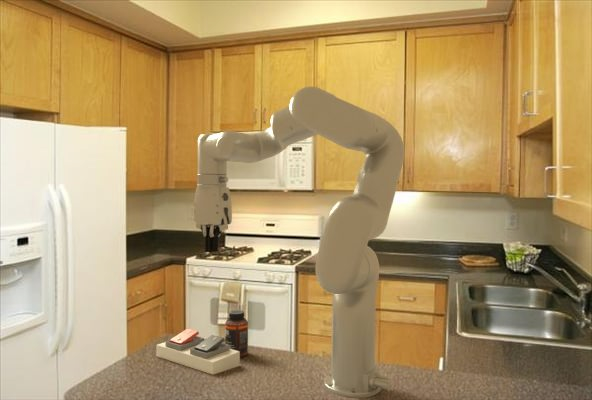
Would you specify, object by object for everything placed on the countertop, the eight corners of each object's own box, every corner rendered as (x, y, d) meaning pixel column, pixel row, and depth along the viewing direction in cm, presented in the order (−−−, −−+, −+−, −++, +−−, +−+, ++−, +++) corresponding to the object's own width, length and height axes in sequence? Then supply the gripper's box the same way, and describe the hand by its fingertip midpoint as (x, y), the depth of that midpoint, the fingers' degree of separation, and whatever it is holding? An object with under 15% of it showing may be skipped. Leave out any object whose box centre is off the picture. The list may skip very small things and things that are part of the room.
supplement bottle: (251, 351, 123) (251, 309, 123) (242, 359, 118) (243, 315, 117) (230, 349, 125) (231, 308, 125) (221, 357, 119) (221, 313, 119)
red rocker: (199, 338, 118) (198, 330, 118) (182, 350, 113) (180, 342, 113) (189, 335, 120) (187, 327, 120) (171, 347, 116) (169, 339, 115)
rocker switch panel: (239, 367, 112) (239, 346, 112) (212, 379, 105) (212, 357, 105) (183, 350, 124) (184, 331, 123) (156, 360, 116) (156, 340, 116)
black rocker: (225, 345, 113) (223, 337, 112) (208, 358, 108) (206, 350, 108) (213, 342, 115) (212, 334, 115) (196, 355, 110) (194, 346, 110)
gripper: (243, 182, 119) (242, 252, 120) (202, 182, 128) (202, 248, 128) (222, 181, 113) (221, 255, 113) (181, 181, 122) (181, 250, 122)
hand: (211, 251), depth 121 cm, fingers closed
